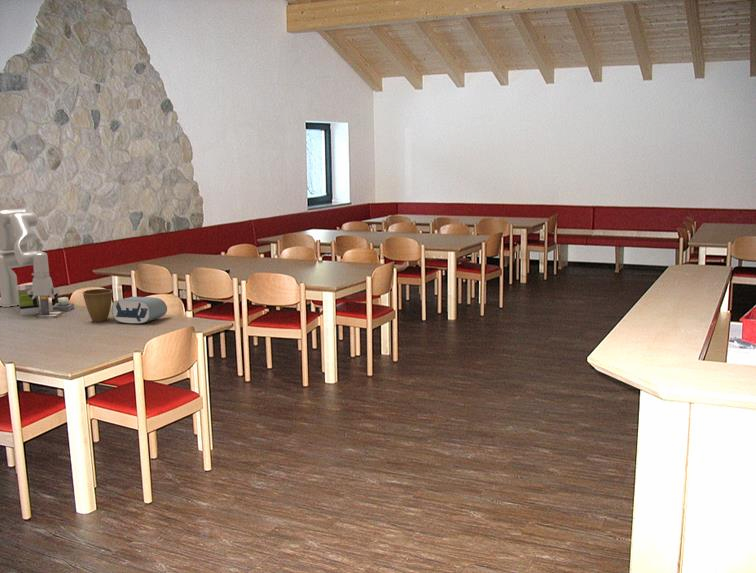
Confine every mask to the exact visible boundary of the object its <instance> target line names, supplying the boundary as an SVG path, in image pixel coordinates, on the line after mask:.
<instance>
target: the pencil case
mask: <svg viewBox="0 0 756 573" xmlns="http://www.w3.org/2000/svg"><path fill="white" fill-rule="evenodd" d="M167 312H168V305H167V304H166V302H165V301H164V300H163V299H161V298H159V297H152V296H130V297H126V298H125V297H124V298H121V299H118V300H115V301H114V302H113V304H112V305H111V314H112V318H113V319H114V320H115V321H117V322H119V323H124V324H143V323H146V322H151V321H154V320H153V319H155V320H157V318H158V319H160V318H162V317H164V316H165V315H166V314H167Z"/></svg>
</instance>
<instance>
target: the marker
mask: <svg viewBox="0 0 756 573" xmlns="http://www.w3.org/2000/svg"><path fill="white" fill-rule="evenodd" d="M39 300H40V303H39V304H40V312H41V313H40V314H42V315H49V311H50V306H49V305H50V304H49V296H39Z"/></svg>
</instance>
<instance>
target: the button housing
mask: <svg viewBox="0 0 756 573" xmlns="http://www.w3.org/2000/svg"><path fill="white" fill-rule="evenodd" d="M73 308H74V309H75V303H74V302H71V303H69V302H68V305H65V306H59V304H58V303H56V304H55V305H54V306H52V310H59V311H67V312H71V311H72V310H73ZM71 309H72V310H71ZM70 310H71V311H70Z"/></svg>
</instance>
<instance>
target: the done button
mask: <svg viewBox="0 0 756 573" xmlns="http://www.w3.org/2000/svg"><path fill="white" fill-rule="evenodd" d="M68 299H69V298H68V297H66V296H64V297H58V298H57V304H59V306H65V305H68V303H69V302H68Z"/></svg>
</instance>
